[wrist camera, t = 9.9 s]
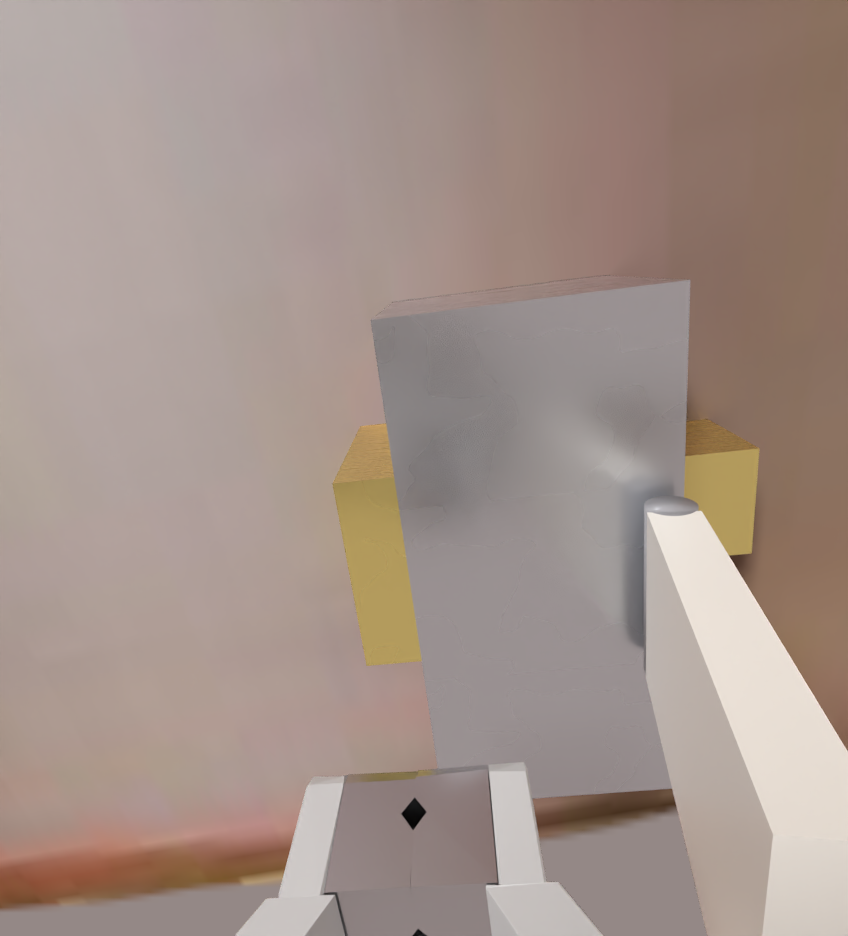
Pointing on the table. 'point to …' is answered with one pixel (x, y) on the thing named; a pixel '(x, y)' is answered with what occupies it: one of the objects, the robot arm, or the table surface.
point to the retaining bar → (740, 741)
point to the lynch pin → (382, 545)
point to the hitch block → (537, 515)
